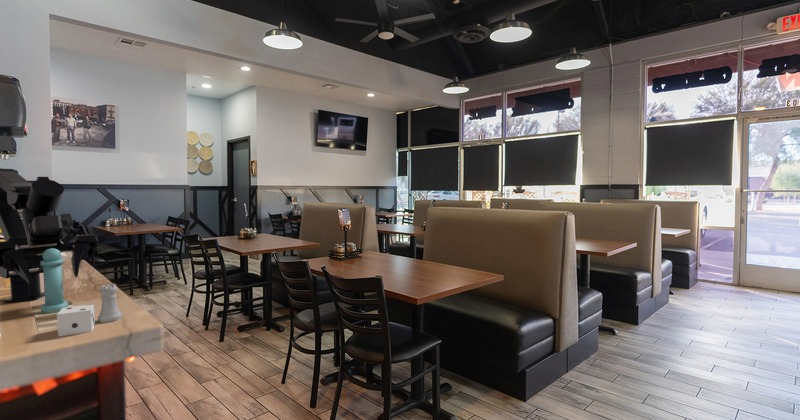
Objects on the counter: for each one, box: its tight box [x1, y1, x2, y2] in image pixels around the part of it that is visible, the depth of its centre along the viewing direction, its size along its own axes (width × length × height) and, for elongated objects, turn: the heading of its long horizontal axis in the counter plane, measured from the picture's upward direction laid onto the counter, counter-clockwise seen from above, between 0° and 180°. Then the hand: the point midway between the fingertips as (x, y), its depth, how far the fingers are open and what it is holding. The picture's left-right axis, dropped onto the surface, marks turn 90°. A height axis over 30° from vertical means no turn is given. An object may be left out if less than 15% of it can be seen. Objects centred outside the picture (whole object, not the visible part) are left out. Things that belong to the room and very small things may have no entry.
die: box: [57, 303, 96, 338], centre depth 80 cm, size 5×5×5 cm
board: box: [31, 299, 75, 332], centre depth 91 cm, size 24×7×1 cm, turn 44°
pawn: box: [40, 248, 68, 314], centre depth 92 cm, size 5×5×14 cm
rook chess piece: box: [97, 283, 124, 324], centre depth 86 cm, size 4×4×8 cm
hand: (54, 278), depth 91 cm, fingers open, 8 cm apart
